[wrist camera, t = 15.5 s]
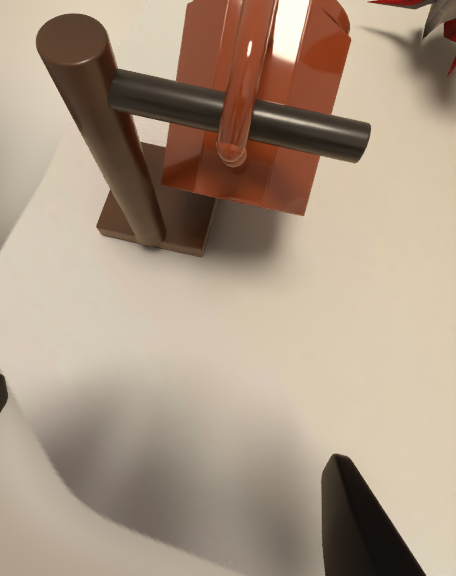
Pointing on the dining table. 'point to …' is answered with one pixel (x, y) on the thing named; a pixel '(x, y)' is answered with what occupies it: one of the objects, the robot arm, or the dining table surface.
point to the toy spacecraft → (432, 15)
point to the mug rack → (169, 108)
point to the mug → (255, 95)
